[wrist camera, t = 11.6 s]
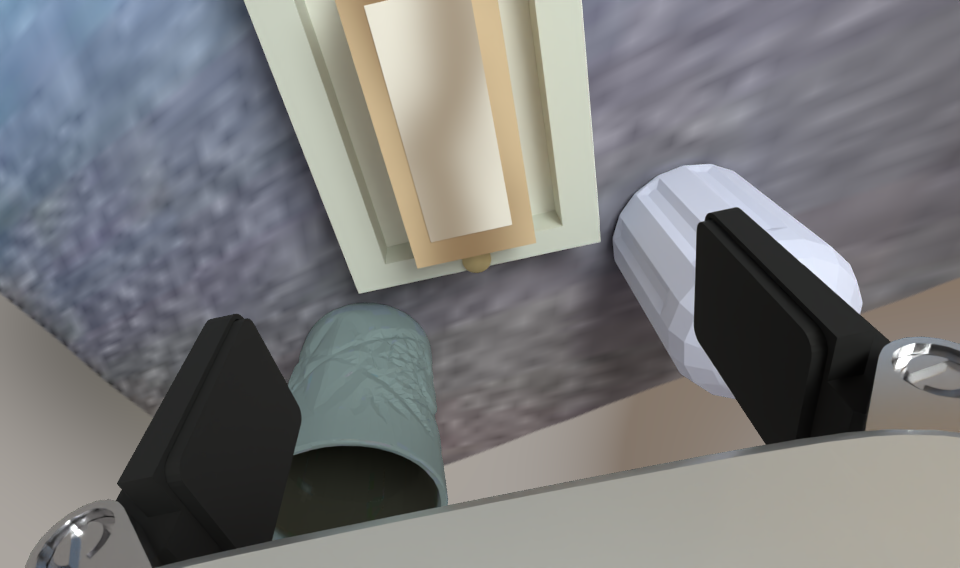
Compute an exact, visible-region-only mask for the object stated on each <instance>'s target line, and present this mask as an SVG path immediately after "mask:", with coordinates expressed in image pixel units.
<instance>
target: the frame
mask: <svg viewBox="0 0 960 568" xmlns="http://www.w3.org/2000/svg"><path fill="white" fill-rule="evenodd" d="M335 3H336V6H337V9H338V13H339V16H340V19H341V22H342V26H343V29H344V32H345V35H346V38H347V42H348V45H349V48H350V51H351V55H352V58H353V61H354V64H355V68H356V71H357V74H358V77H359V81H360V84H361V87H362V90H363V94H364V97H365V100H366V103H367V106H368V110H369V113H370V116H371V119H372V123H373V126H374V129H375V132H376V136H377V139H378V142H379V145H380V149H381V152H382V155H383V158H384V162H385V165H386V168H387V171H388V174H389V178H390V181H391V184H392V187H393V191H394V194H395V197H396V200H397V204H398V207H399V210H400V213H401V217H402V220H403V223H404V226H405V230H406V233H407V236H408V239H409V242H410V246H411V249H412V252H413V255H414V259H415V262H416V265H417V268H423V267H428V266H432V265H437V264H441V263H446V262H451V261H455V260H460V259H465V258H469V257H474V256H478V255H483V254H488V253H492V252H497V251H502V250H506V249H511V248H515V247H520V246H525V245H529V244H534V243H536V238H535V231H534V225H533V219H532V213H531V206H530V200H529V194H528V187H527V181H526V175H525V168H524V162H523V156H522V150H521V143H520V137H519V131H518V124H517V118H516V112H515V105H514V99H513V93H512V87H511V80H510V74H509V68H508V61H507V55H506V49H505V42H504V36H503V30H502V24H501V17H500V11H499V5H498V0H335Z"/></svg>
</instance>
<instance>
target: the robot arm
mask: <svg viewBox="0 0 960 568" xmlns="http://www.w3.org/2000/svg"><path fill="white" fill-rule="evenodd" d="M694 331H695V335H696V338H697V340H698V342H699V344H700V345H701V347H702V348H703V350H704V351H705V353H706V354H707V356H708V357H709V359H710V360H711V362H712V363H713V365H714V366H715V368H716V370H717V371H718V373H719V374H720V376H721V377H722V379H723V380H724V382H725V383H726V385H727V386H728V388H729V389H730V391H731V392H732V394H733V395H734V397H735V398H736V400H737V401H738V403H739V404H740V406H741V408H742V409H743V411H744V412H745V413H746V415H747V417H748V418H749V420H750V421H751V423H752V424H753V426H754V427H755V429H756V430H757V432H758V433H759V435H760V436H761V438H762V439H763V441H764V442H765V444H766V445H763V446H757V447H752V448H745V449H740V450H734V451H728V452H722V453H717V454H711V455H706V456H701V457H695V458H690V459H685V460H679V461H674V462H669V463H664V464H659V465H653V466H648V467H643V468H638V469H632V470H627V471H622V472H617V473H611V474H606V475H601V476H596V477H591V478H586V479H580V480H575V481H570V482H564V483H560V484H554V485H549V486H544V487H539V488H534V489H529V490H524V491H518V492H513V493H508V494H503V495H498V496H493V497H488V498H483V499H478V500H473V501H468V502H463V503H458V504H453V505H447V506H442V507H437V508H432V509H427V510H422V511H417V512H412V513H407V514H402V515H397V516H392V517H387V518H382V519H377V520H372V521H367V522H362V523H357V524H353V525H348V526H343V527H338V528H333V529H328V530H323V531H318V532H313V533H308V534H303V535H298V536H293V537H288V538H283V539H278V540H274V541H272V539H273V535H274V531H275V527H276V523H277V519H278V515H279V511H280V507H281V503H282V499H283V495H284V491H285V487H286V483H287V479H288V475H289V471H290V467H291V463H292V459H293V455H294V451H295V447H296V443H297V438H298V434H299V430H300V426H301V421H302V416H301V411H300V407H299V405H298V403H297V402H296V400H295V398H294V396H293V394H292V392H291V391H290V389H289V387H288V385H287V383H286V381H285V380H284V378H283V376H282V374H281V372H280V371H279V369H278V367H277V365H276V363H275V361H274V360H273V358H272V356H271V354H270V352H269V350H268V349H267V347H266V345H265V343H264V341H263V340H262V338H261V336H260V334H259V332H258V330H257V329H256V327H255V325H254V323H253V322H252V321H251V320H250V319H244V318H243V317H242V316H241V315H239V314H233V315H228V316H223V317H219V318H214V319H210V320H208V321H207V322H206V324H205V326H204V327H203V329H202V331H201V333H200V335H199V336H198V338H197V340H196V342H195V344H194V345H193V347H192V349H191V351H190V353H189V354H188V356H187V358H186V360H185V362H184V363H183V365H182V367H181V369H180V371H179V372H178V374H177V376H176V378H175V380H174V381H173V383H172V385H171V387H170V389H169V391H168V392H167V394H166V396H165V398H164V400H163V401H162V403H161V405H160V407H159V409H158V410H157V412H156V414H155V416H154V418H153V419H152V421H151V423H150V425H149V427H148V428H147V430H146V432H145V434H144V436H143V437H142V439H141V441H140V443H139V445H138V446H137V448H136V450H135V452H134V454H133V455H132V458H131V459H130V461H129V463H128V465H127V466H126V468H125V470H124V472H123V474H122V476H121V477H120V479H119V481H118V483H117V484H118V486H119V487H120V488H121V489H122V491H121V492H120V494H119V496H118V498H117V500H116V501H114V500H109V499H108V500H100V501H95V502H92V503H90V504H87V505H85V506H82V507H80V508H78V509H77V510H75V511H73V512H71V513H70V514H68V515H67V516H65V517H64V518H63V519H62V520H60V521H59V522H58V523H56V524H55V525H54V526H53V527H52V528H51V529H50V530H49V531H48V532H47V533H46V534H45V535H44V536H43V537H42V538H41V539H40V540H39V542H38V543H37V545H36V546H35V547H34V549H33V550H32V552H31V553H30V556H29V559H28V561H27V563H26V565H25V568H960V344H958V343H955V342H951V341H947V340H944V339H938V338H930V337H906V338H902V339H899V340H895V341H892V342H890V341H889V340H888V339H887V338H885V337H884V336H883V335H882V334H881V333H880V332H879V331H878V330H877V329H875V328H874V327H873V326H872V325H871V324H870V323H869V322H868V321H866V320H865V319H864V318H863V317H862V316H861V315H860V314H859V313H858V312H856V311H855V310H854V309H853V308H852V307H851V306H850V305H849V304H847V303H846V302H845V301H844V300H843V299H842V298H841V297H840V296H839V295H837V294H836V293H835V292H834V291H833V290H832V289H831V288H830V287H828V286H827V285H826V284H825V283H824V282H823V281H822V280H821V279H819V278H818V277H817V276H816V275H815V274H814V273H813V272H812V271H810V270H809V269H808V268H807V267H806V266H805V265H803V264H802V263H801V262H800V261H799V260H798V259H796V258H795V257H794V256H793V255H792V254H791V253H790V252H789V251H787V250H786V249H785V248H784V247H783V246H782V245H781V244H780V243H778V242H777V241H776V240H775V239H774V238H773V237H772V236H771V235H770V234H768V233H767V232H766V231H765V230H764V229H763V228H762V227H761V226H759V225H758V224H757V223H756V222H755V221H754V220H753V219H752V218H750V217H749V216H748V215H747V214H746V213H745V212H744V211H743V210H742V209H740V208H738V207H734V208H729V209H725V210H720V211H715V212H711V213H708V214H707V215H706V217H705V221H702V222H699V223H698V225H697V233H696V265H695V297H694Z"/></svg>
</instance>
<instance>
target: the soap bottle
mask: <svg viewBox="0 0 960 568" xmlns="http://www.w3.org/2000/svg"><path fill="white" fill-rule="evenodd" d="M734 207H738V208H740V209H742V210H743V211H744V212H745V213H746V214H747V215H748V216H749V217H750V218H752V219H753V220H754V221H755V222H756V223H757V224H758V225H759V226H761V227H762V228H763V229H764V230H765V231H766V232H767V233H768V234H770V235H771V236H772V237H773V238H774V239H775V240H776V241H777V242H778V243H780V244H781V245H782V246H783V247H784V248H785V249H786V250H787V251H789V252H790V253H791V254H792V255H793V256H794V257H795V258H796V259H798V260H799V261H800V262H801V263H802V264H803V265H805V266H806V267H807V268H808V269H809V270H810V271H812V272H813V273H814V274H815V275H816V276H817V277H818V278H819V279H821V280H822V281H823V282H824V283H825V284H826V285H827V286H828V287H830V288H831V289H832V290H833V291H834V292H835V293H836V294H837V295H839V296H840V297H841V298H842V299H843V300H844V301H845V302H846V303H847V304H849V305H850V306H851V307H852V308H853V309H854V310H855V311H856V312H858V313H859V314H860V312H861V308H862V303H863V302H862V299H861V295H860V291H859V287H858V283H857V280H856V278H855V275H854V273H853V270H852V268H851V265H850V264H849V263H848V262H847V261H846V260H845V259H844V258H843V257H842V256H841V255H840V254H839V253H837V252H836V251H835V250H834V249H833V248H832V247H831V246H830V245H828V244H827V243H826V242H825V241H823V240H822V239H821V238H819V237H818V236H817V235H816V234H814V233H813V232H812V231H810V230H809V229H808V228H807V227H805V226H804V225H803V224H801V223H800V222H799V221H797V220H796V219H795V218H794V217H792V216H791V215H790V214H788V213H787V212H786V211H785V210H783V209H782V208H781V207H779V206H778V205H777V204H776V203H774V202H773V201H772V200H770V199H769V198H768V197H767V196H765V195H764V194H763V193H761V192H760V191H759V190H757V189H756V188H755V187H754V186H752V185H751V184H750V183H748V182H747V181H746V180H745V179H743V178H742V177H741V176H739V175H738V174H737V173H736V172H734V171H732V170H729V169H726V168H722V167H719V166H716V165H713V164H701V165H686V166H680V167H678V168H675V169H673V170H670V171H668V172H665V173H663V174H660V175H658V176H656V177H655V178H653V179H652V180H651V181H650V182H648V183H647V184H646V185H645V186H643V187H642V188H641V189H639V190H638V191H637V192H636V193H635V194H634V195H633V196H632V198H631V199H630V201H629V202H628V203H627V205H626V206H625V208H624V209H623V211H622V212H621V213H620V215H619V219H618V222H617V225H616V229H615V232H614V235H613V250H614V260H615V262H616V264H617V266H618V267H619V269H620V271H621V273H622V274H623V276H624V278H625V279H626V281H627V283H628V285H629V286H630V288H631V290H632V292H633V293H634V295H635V297H636V298H637V300H638V302H639V304H640V305H641V307H642V309H643V310H644V312H645V314H646V316H647V317H648V319H649V321H650V323H651V324H652V326H653V328H654V329H655V331H656V333H657V335H658V336H659V338H660V340H661V341H662V343H663V345H664V347H665V348H666V350H667V352H668V354H669V355H670V357H671V359H672V360H673V362H674V364H675V366H676V367H677V369H678V371H679V372H680V374H682V375H683V376H685V377H686V378H688V379H689V380H691V381H692V382H694V383H695V384H697V385H698V386H700V387H701V388H703V389H705V390H706V391H708V392H709V393H711V394H712V395H717V396H723V397H727V398H732V399H736V398H735V397H734V395H733V394H732V392H731V391H730V389H729V388H728V386H727V385H726V383H725V382H724V380H723V379H722V377H721V376H720V374H719V373H718V371H717V370H716V368H715V366H714V365H713V363H712V362H711V360H710V359H709V357H708V356H707V354H706V353H705V351H704V350H703V348H702V347H701V345H700V344H699V342H698V340H697V338H696V335H695V331H694V297H695V265H696V233H697V225H698V223H699V222H702V221H705V217H706V215H707V214H708V213H711V212H715V211H720V210H725V209H729V208H734Z"/></svg>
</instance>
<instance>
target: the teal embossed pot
mask: <svg viewBox="0 0 960 568" xmlns="http://www.w3.org/2000/svg"><path fill="white" fill-rule="evenodd" d="M288 387H289V389H290V391H291V392H292V394H293V396H294V398H295V400H296V402H297V403H298V405H299V407H300V411H301V416H302V421H301V426H300V430H299V434H298V438H297V443H296V447H295V451H294V455H293V459H292V463H291V467H290V471H289V475H288V479H287V483H286V487H285V491H284V495H283V499H282V503H281V507H280V511H279V515H278V519H277V523H276V527H275V531H274V535H273V539H272V541H274V540H278V539H283V538H288V537H293V536H298V535H303V534H308V533H313V532H318V531H323V530H328V529H333V528H338V527H343V526H348V525H353V524H357V523H362V522H367V521H372V520H377V519H382V518H387V517H392V516H397V515H402V514H407V513H412V512H417V511H422V510H427V509H432V508H437V507H442V506H447V504H448V496H447V488H446V480H445V473H444V466H443V460H442V455H441V441H440V435H439V431H438V427H437V424H436V421H435V416H434V415H435V413H436V412H437V405H436V395H435V390H434V385H433V372H432V356H431V348H430V344H429V341H428V338H427V336H426V334H425V332H424V330H423V329H422V328H421V327H420V325H419V324H418V323H417V322H416V321H415V320H414V319H412V318H411V317H410V316H409V315H407V314H406V313H404V312H402V311H400V310H398V309H396V308H393V307H390V306H386V305H381V304H376V303H357V304H350V305H346V306H343V307H340V308H338V309H335V310H333V311H331V312H329V313H328V314H326V315H325V316H324V317H322V318H321V319H320V320H319V321H318V322H317V323H316V324H315V325H314V326H313V327H312V329H311V330H310V332H309V334H308V336H307V338H306V341H305V343H304V345H303V348H302V350H301V353H300V356H299V363H298V364H297V365H296V366H295V368H294V371H293V373H292V375H291V378H290V380H289V383H288Z"/></svg>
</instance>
